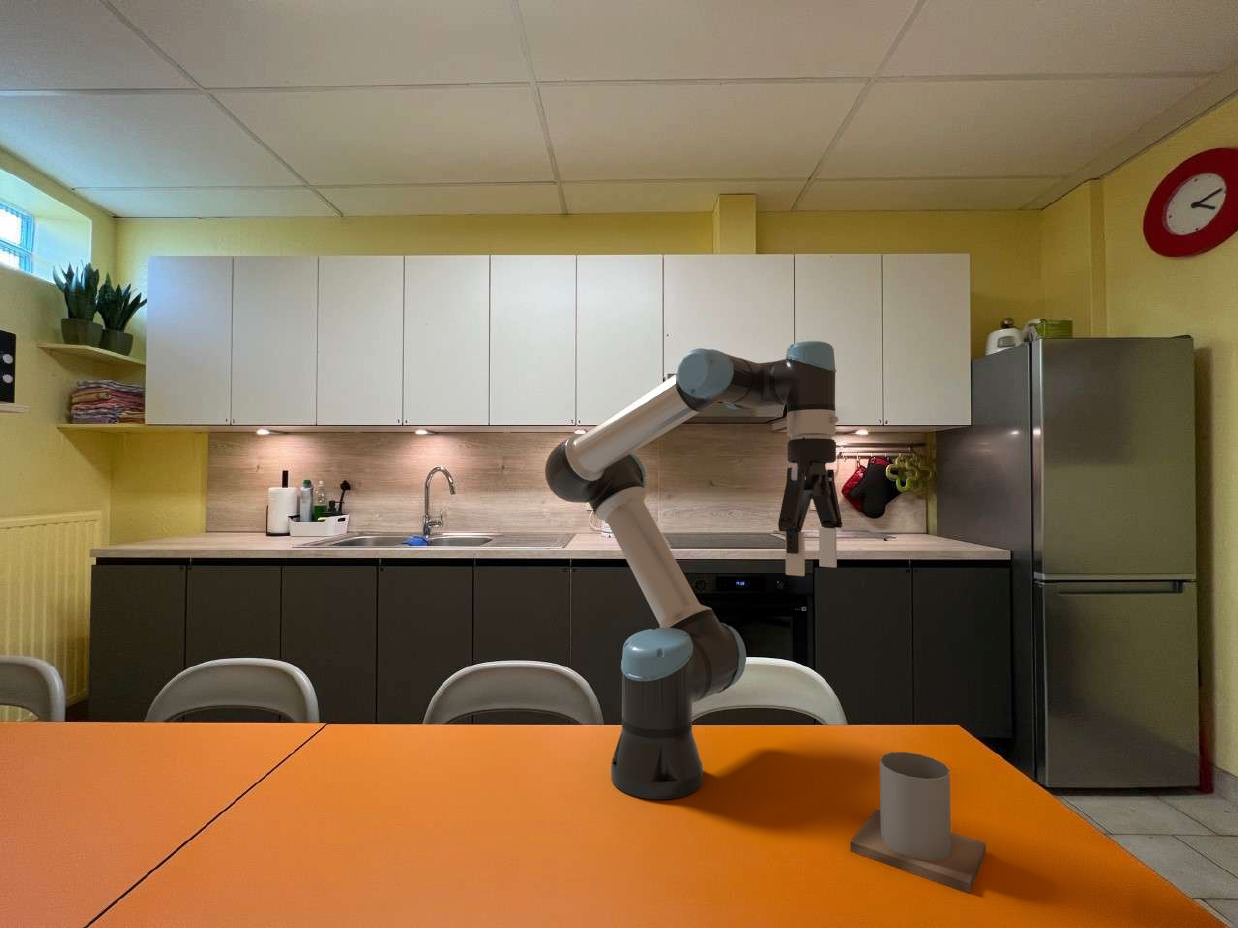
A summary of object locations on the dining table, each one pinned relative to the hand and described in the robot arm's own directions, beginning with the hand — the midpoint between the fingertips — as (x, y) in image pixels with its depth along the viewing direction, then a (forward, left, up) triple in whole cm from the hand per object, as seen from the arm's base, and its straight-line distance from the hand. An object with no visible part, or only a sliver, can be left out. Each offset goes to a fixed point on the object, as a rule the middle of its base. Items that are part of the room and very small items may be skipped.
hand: (812, 570), depth 101 cm
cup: (+17, -8, -34) cm, 38 cm away
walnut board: (+17, -8, -35) cm, 39 cm away
